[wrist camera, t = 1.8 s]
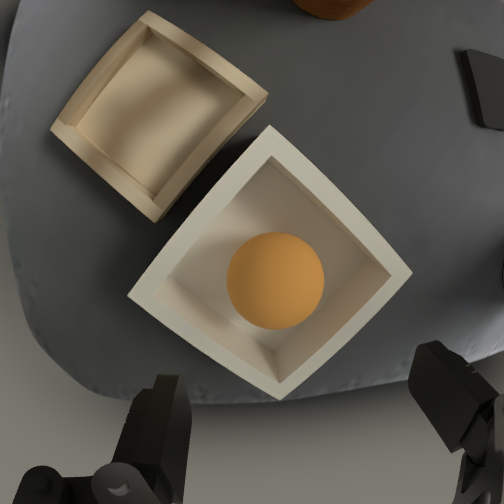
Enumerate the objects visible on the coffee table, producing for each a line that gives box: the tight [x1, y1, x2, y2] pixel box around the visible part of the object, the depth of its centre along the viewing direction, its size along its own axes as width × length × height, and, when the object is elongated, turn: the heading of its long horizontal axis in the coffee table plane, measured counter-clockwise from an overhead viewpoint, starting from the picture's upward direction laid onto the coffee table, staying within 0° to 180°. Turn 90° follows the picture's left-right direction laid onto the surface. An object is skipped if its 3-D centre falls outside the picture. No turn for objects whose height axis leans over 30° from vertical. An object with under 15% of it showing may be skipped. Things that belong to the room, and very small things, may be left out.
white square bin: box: [127, 125, 413, 400], centre depth 20 cm, size 13×13×5 cm
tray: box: [50, 10, 268, 223], centre depth 18 cm, size 11×11×2 cm
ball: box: [227, 232, 324, 330], centre depth 18 cm, size 6×6×6 cm
